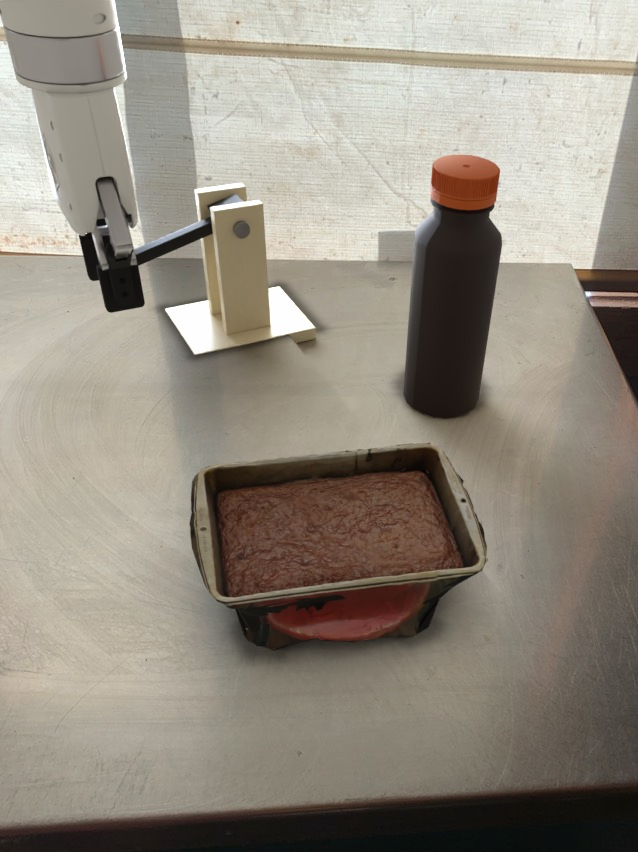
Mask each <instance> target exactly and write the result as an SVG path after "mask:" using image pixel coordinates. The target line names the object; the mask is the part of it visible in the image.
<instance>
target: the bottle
mask: <svg viewBox="0 0 638 852" xmlns="http://www.w3.org/2000/svg"><path fill="white" fill-rule="evenodd" d="M500 176H501V169H500V167H499V166H498V165H497V164H496V163H495V162H493V161H492V160H490V159H487V158H484V157H481V156H476V155H472V154H449V155H443V156H441V157H438V158H437V159H435V160H434V161H433V162H432V166H431V176H430V177H431V178H430V192H429V196H430V202H429V203H430V204H431V206H432V207H433V208H432V209H433V211H432V212H431V213H429V215H428V216H427V217H425V218H424V219H423V220H422V221H421V222H419V224H418V225H417V226H416V228H415V230H414V239H413V254H412V264H411V265H412V266H411V270H412V271H411V282H410V295H409V310H408V322H407V337H406V338H407V339H406V350H405V363H404V364H405V365H404V366H405V367H404V379H403V390H402V392H403V393H402V394H403V397H404V400H405V402H406V404H408V406H410V407H411V408H412V410H414V411H416V412H418V413H420V414H421V415H424V416H428V417H431V418H437V419H452V418H453V419H454V418H458V417H461V416H464V415H467V414H468V413H470V412H471V411H472V410H474V409H475V407H476V405H477V404H478V402H479V398H480V392H481V386H482V379H483V374H484V373H483V372H484V364H485V360H486V353H487V347H488V342H489V341H488V340H489V334H490V328H491V327H490V326H491V320H492V314H493V306H494V301H495V295H496V289H497V281H498V274H499V268H500V263H501V262H500V261H501V254H502V248H503V236H502V233H501V231H500V230H499V229H498V228H497V226H496V225H495V224H494V222H493V221H492V219H491V218H490V215H491V212H492V211H493V210H494V209H495V205H496V204H495V203H496V202H497V196H498V189H499V183H500V182H499V181H500Z"/></svg>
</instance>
